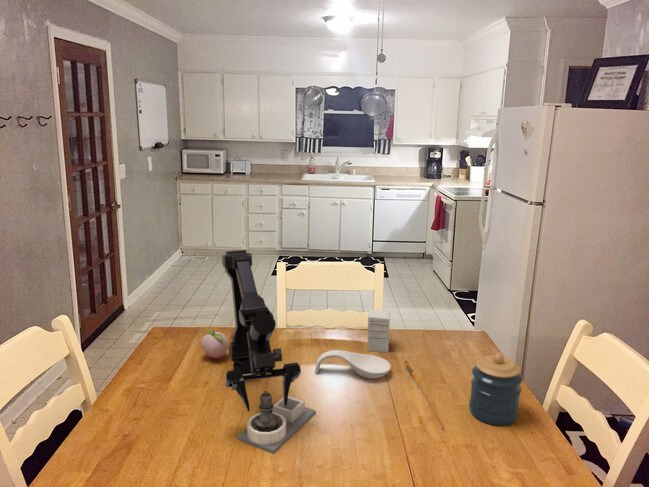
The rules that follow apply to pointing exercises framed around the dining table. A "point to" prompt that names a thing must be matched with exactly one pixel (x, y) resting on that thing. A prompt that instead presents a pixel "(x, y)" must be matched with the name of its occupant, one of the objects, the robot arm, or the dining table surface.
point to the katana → (415, 379)
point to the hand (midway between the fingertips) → (267, 408)
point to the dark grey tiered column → (266, 414)
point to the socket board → (278, 425)
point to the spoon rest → (359, 363)
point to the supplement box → (378, 330)
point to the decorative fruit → (214, 344)
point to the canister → (495, 390)
